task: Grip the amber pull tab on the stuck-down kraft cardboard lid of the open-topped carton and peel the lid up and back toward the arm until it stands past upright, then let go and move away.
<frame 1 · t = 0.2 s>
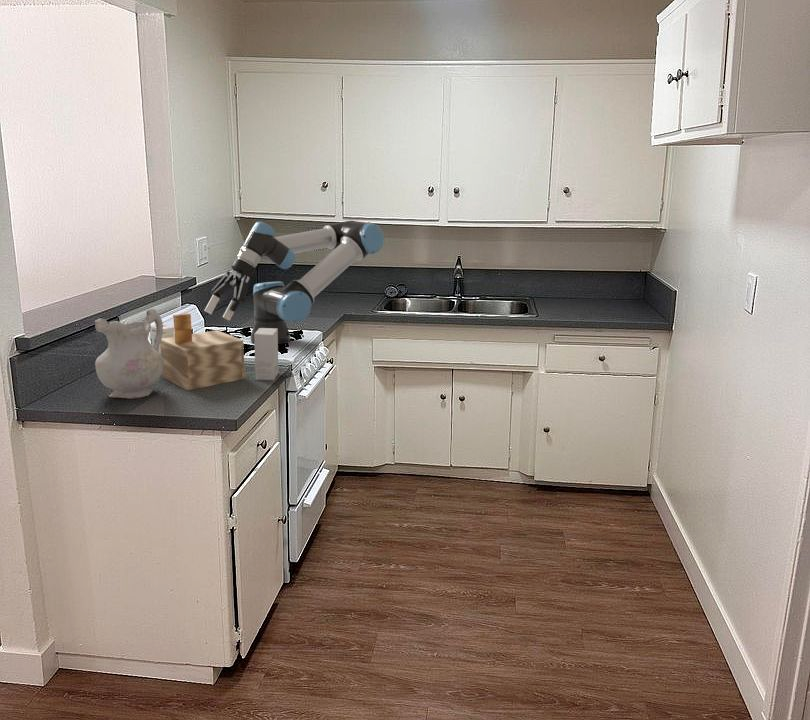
hand: (216, 315, 264), 16 cm above the worktop, fingers open, 13 cm apart
carton: (203, 378, 247), on the worktop
skincare box: (267, 377, 250), on the worktop
lid: (200, 327, 243), point 17 cm above the worktop, hinge at 0.0°
syrup box: (164, 368, 258), on the worktop
ceramic pitcher: (135, 393, 232), on the worktop
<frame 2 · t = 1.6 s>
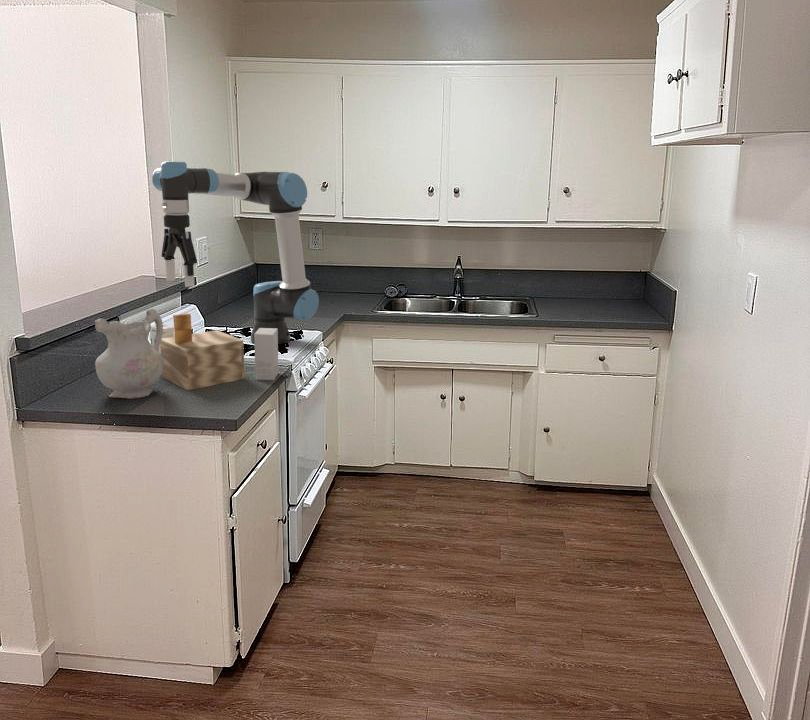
hand: (180, 283, 236), 32 cm above the worktop, fingers open, 13 cm apart
nothing on the worktop moved.
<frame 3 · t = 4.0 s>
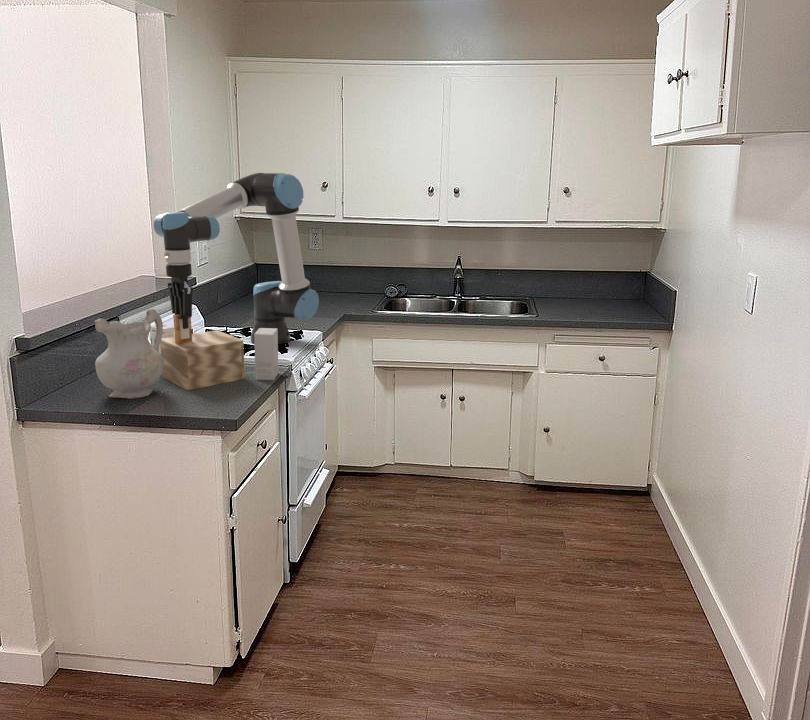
hand: (183, 337, 240), 14 cm above the worktop, fingers closed on lid, 2 cm apart
lid: (200, 327, 243), point 17 cm above the worktop, hinge at 0.0°, touching gripper
everything else where it was.
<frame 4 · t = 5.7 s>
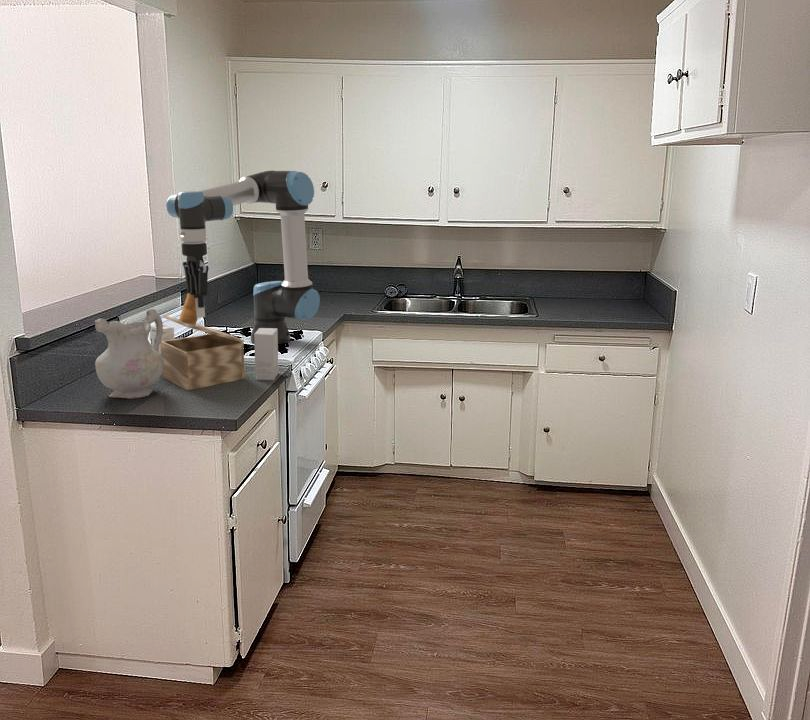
hand: (198, 316, 241), 20 cm above the worktop, fingers closed on lid, 2 cm apart
lid: (207, 315, 243), point 20 cm above the worktop, hinge at 22.6°, touching gripper
everything else where it was.
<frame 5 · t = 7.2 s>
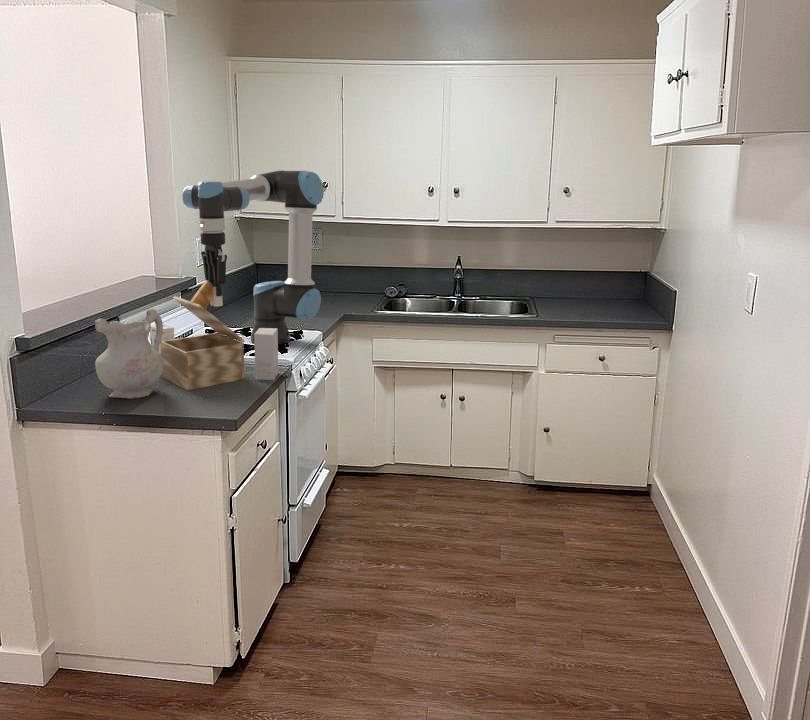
hand: (216, 305, 245), 23 cm above the worktop, fingers closed on lid, 2 cm apart
lid: (217, 308, 245), point 22 cm above the worktop, hinge at 42.7°, touching gripper
everything else where it was.
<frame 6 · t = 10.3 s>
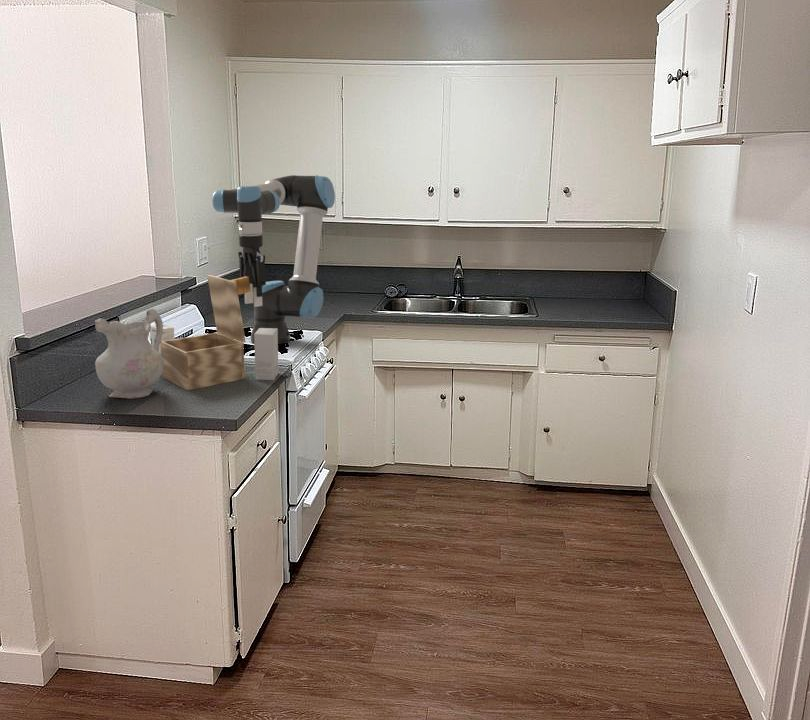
hand: (253, 304, 253), 22 cm above the worktop, fingers open, 5 cm apart
lid: (238, 305, 250), point 23 cm above the worktop, hinge at 82.8°
everything else where it was.
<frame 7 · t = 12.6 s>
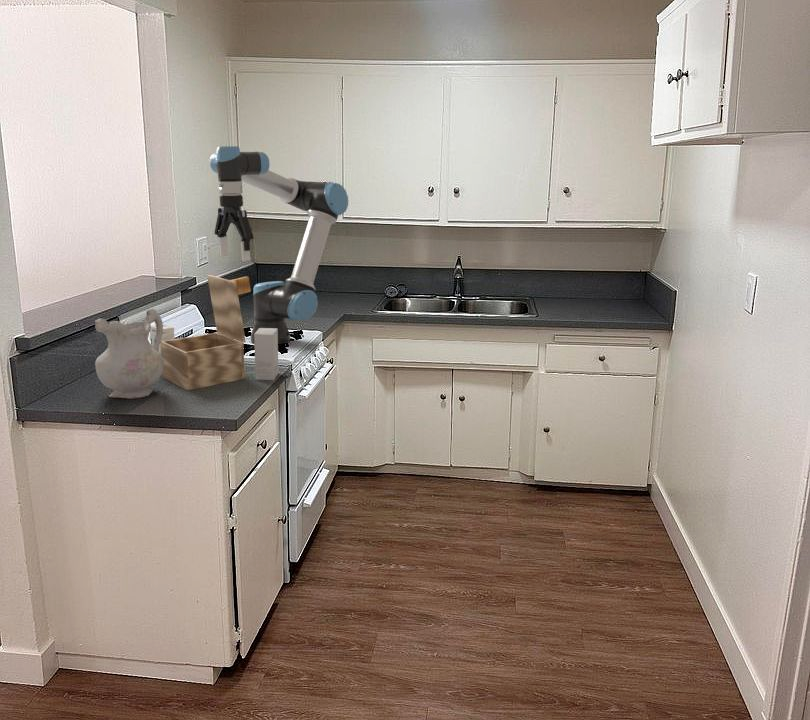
hand: (235, 258, 258), 36 cm above the worktop, fingers open, 13 cm apart
nothing on the worktop moved.
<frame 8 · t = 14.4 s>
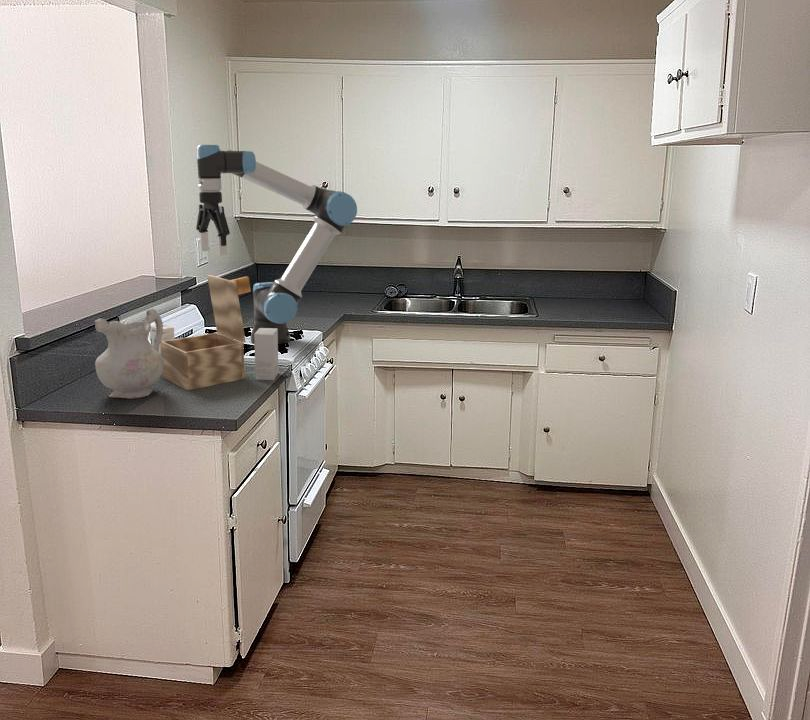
hand: (213, 253, 266), 37 cm above the worktop, fingers open, 13 cm apart
nothing on the worktop moved.
at the end: lid at +83° (first picture: +0°); the gripper is holding nothing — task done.
